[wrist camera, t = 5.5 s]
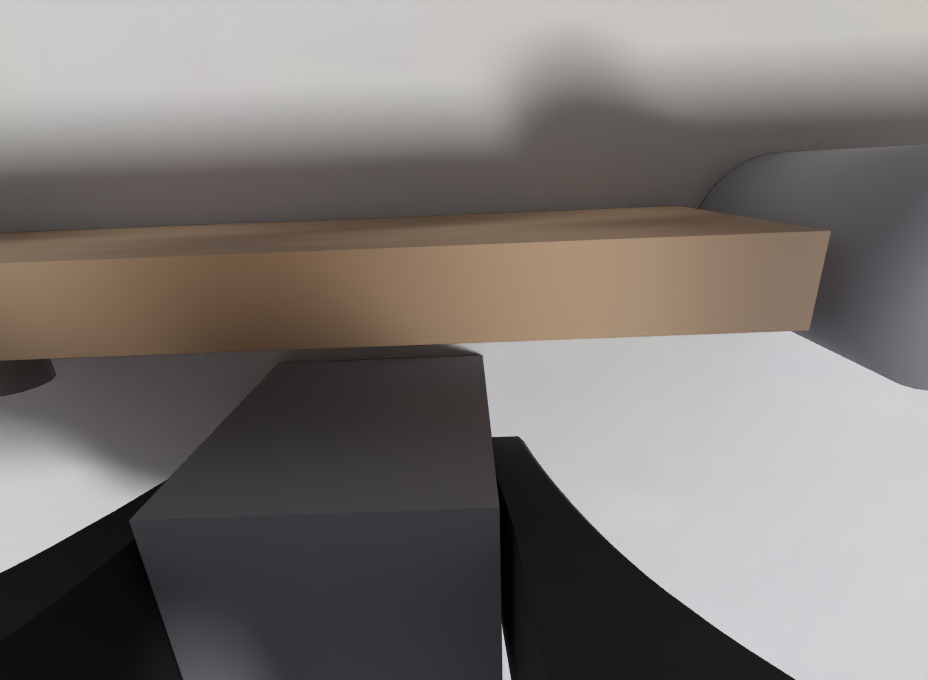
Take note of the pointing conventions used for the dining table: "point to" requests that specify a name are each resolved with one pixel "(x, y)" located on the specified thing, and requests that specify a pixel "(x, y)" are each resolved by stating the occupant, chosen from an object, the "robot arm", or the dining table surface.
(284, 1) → the dining table surface
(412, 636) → the block
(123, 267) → the door
